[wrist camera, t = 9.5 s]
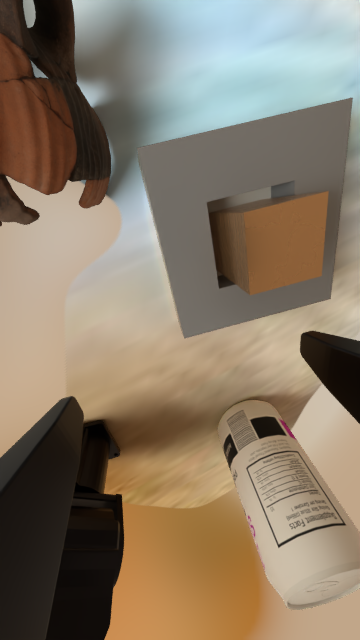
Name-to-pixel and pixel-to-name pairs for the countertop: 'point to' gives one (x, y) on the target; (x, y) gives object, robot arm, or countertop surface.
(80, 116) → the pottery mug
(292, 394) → the countertop surface
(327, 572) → the supplement can
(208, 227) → the charcoal well block
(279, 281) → the wooden toy block
